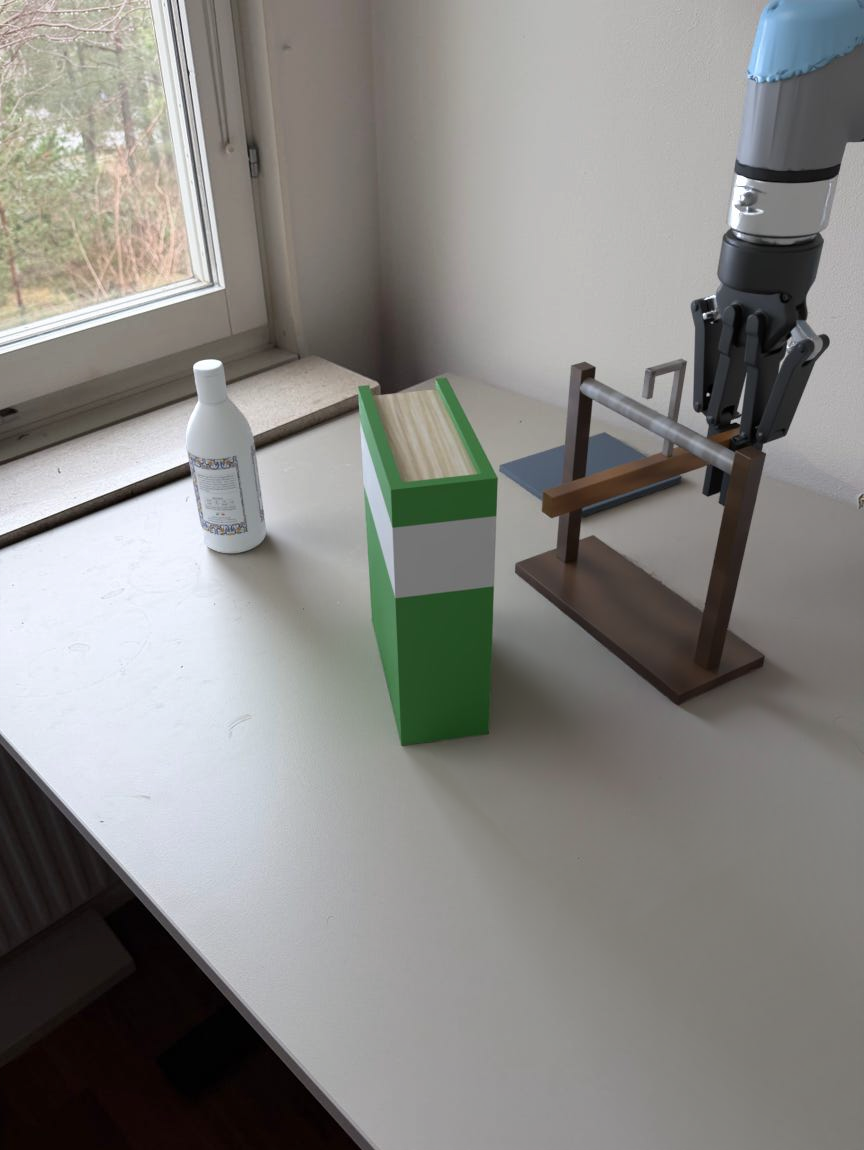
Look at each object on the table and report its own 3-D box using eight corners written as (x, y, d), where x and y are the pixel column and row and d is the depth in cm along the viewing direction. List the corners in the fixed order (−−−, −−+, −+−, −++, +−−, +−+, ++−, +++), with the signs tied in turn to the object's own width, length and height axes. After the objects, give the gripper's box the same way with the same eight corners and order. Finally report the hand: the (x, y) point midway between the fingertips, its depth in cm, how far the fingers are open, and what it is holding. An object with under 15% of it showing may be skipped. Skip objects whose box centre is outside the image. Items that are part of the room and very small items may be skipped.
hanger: (737, 445, 88) (760, 333, 82) (749, 451, 87) (773, 338, 81) (541, 511, 80) (549, 393, 74) (551, 518, 79) (560, 399, 73)
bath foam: (236, 515, 111) (209, 346, 99) (279, 534, 107) (257, 360, 95) (191, 542, 107) (157, 368, 95) (234, 562, 103) (206, 384, 91)
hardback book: (371, 620, 94) (357, 386, 79) (446, 611, 95) (446, 377, 80) (401, 745, 80) (390, 489, 66) (488, 733, 81) (497, 478, 66)
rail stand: (592, 544, 103) (613, 347, 90) (762, 666, 86) (819, 445, 73) (514, 572, 100) (524, 371, 86) (676, 705, 83) (720, 480, 69)
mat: (604, 437, 123) (604, 431, 122) (681, 482, 113) (682, 476, 112) (498, 470, 117) (499, 464, 116) (570, 521, 107) (571, 515, 107)
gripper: (673, 219, 79) (640, 475, 94) (813, 262, 69) (752, 542, 84) (741, 203, 82) (699, 455, 97) (885, 243, 72) (814, 517, 86)
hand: (724, 495), depth 90 cm, fingers closed on hanger
